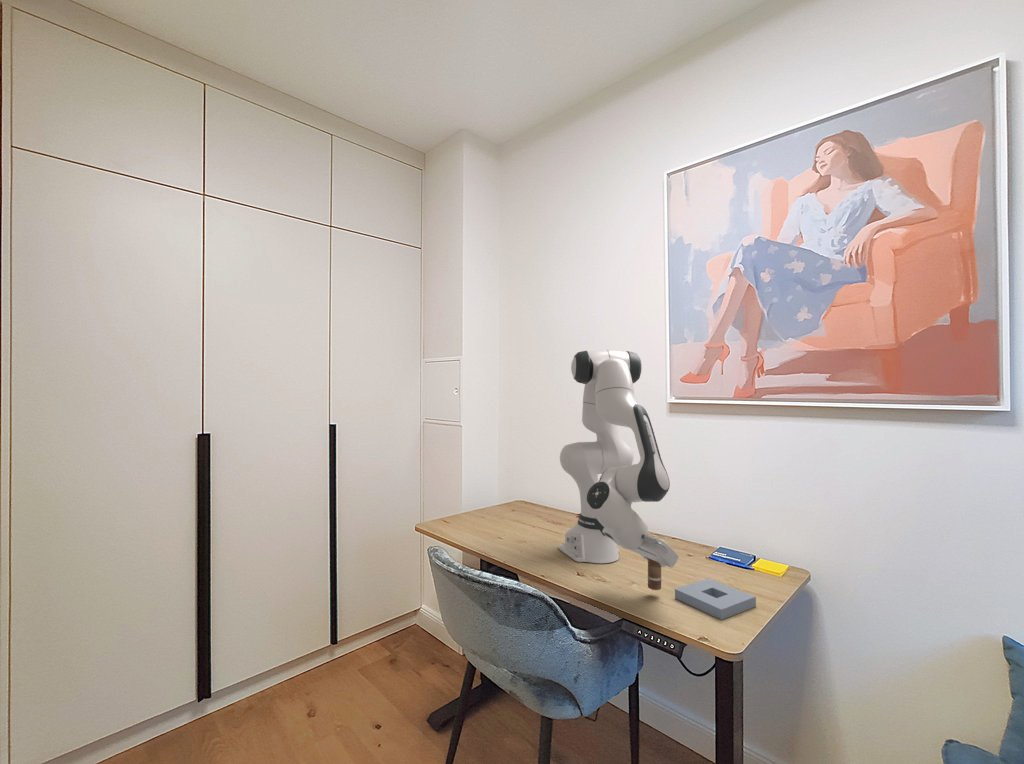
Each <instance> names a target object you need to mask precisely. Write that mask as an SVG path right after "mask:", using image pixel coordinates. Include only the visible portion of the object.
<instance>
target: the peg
mask: <svg viewBox="0 0 1024 764" xmlns="http://www.w3.org/2000/svg"><path fill="white" fill-rule="evenodd" d="M647 588H649V589H651V590H653V591H659V590H661V589H662V567H661V566H659V565H658V564H657V563H656V561H654V560H652V559H649V558H648V560H647Z"/></svg>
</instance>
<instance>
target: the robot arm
mask: <svg viewBox="0 0 1024 764" xmlns="http://www.w3.org/2000/svg"><path fill="white" fill-rule="evenodd" d="M642 366H643V365H642V360H641V357H640V356H639V355H638V353H636V352H633V351H628V350H627V351H621V350H614V349H613V350H612V349H607V350H606V349H605V350H592V351H591V350H590V351H588V350H583V351H578V352H576V354H574V356H573V358H572V361H571V365H570V370H571V374H572V378H573V379H574V381H575V382H576V383H579V384H583V385H584V386H583V387H584V388H583V395H582V396H583V397H582V412H581V413H582V417H581V421H582V422H581V423H582V424H583V426H584V427H585V428H586V429H587V430H589V431H590V432H592V433H594V434H595V435H596V441H579V442H571V443H569V444H566V445H564V446H563V447H562V449H561V451H560V453H559V462H560V465H561V468H562V470H563V471H564V472H565V473H567V474H568V475H569V476H571V478H572V479H573V480H574V482H575V484H576V485H577V487H578V490H579V491H578V492H579V498H580V513H577V514H575V515H576V516H575V518H578V519H577V523H576V524H575V525H574V526H572V527H571V528H569V529H568V530H567V531H566V533H565V536H564V537H565V539H564V542H562V543H560V544H559V545H558V548H557V549H558V550H560V551H561V552H563V553H564V554H565V555H566V556H568V557H569V558H570V559H572V560H573V561H575V562H577V563H584V562H585V563H590V564H591V563H592V564H609V563H613V562H616V561H618V560H619V559H620V555H619V554H620V549H619V547H621V548H623V549H625V550H629V551H630V552H633V553H635V554H638V555H640V557H642V558H643V559H644V560H646V561H648V558H649V559H652V560H654V561H656V563H657V564H658V565H659V566H661V568H665V566H666V567H668V568H671V569H672V568H675V565H676V564H677V562H678V560H679V558H680V557H679V554H678V553H677V552H676V551H675V550H674V548H672V547H671V545H669V544H668V543H667V542H666V541H664V539H661V538H659V537H656V536H654V535H650V534H648V533H649V528H648V525H647V524H646V523H645V521H644V520H643V519H642V518H641V517H640V515H639V514H638V513H637V511H635V509H633V508H632V504H633V503H639V502H640V503H641V502H645V503H646V502H647V503H648V502H649V503H650V502H653V503H655V502H656V503H658V502H661V501H662V500H663V498H665V497H666V495H667V494H668V492H669V490H670V488H671V487H670V485H671V482H670V478H669V475H668V472H667V470H666V468H665V465H664V463H663V459H662V458H661V453H660V449H659V446H658V443H657V440H656V436H655V431H654V428H653V425H652V423H651V422H652V421H651V419H650V416H649V414H648V412H647V410H646V408H645V407H644V406H642V405H641V404H638V403H637V400H636V397H635V391H634V390H635V389H634V384H635V383H636V382H638V380H640V378H641V376H642V375H641V374H642V370H643V367H642ZM617 426H619V427H624V428H630V429H631V430H632V432H633V434H634V435H633V436H634V439H635V443H636V446H637V450H638V454H639V457H640V458H639V459H640V460H639V462H638V463H634V464H633V462H634V453H633V450H632V448H631V446H629V444H628V443H626V442H625V440H623V438H622V437H621V436H620V434H619V432H618V429H617ZM599 474H601V476H600V478H599V477H598V475H599ZM618 546H619V547H618Z"/></svg>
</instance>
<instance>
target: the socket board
mask: <svg viewBox="0 0 1024 764" xmlns="http://www.w3.org/2000/svg"><path fill="white" fill-rule="evenodd" d="M674 599H675V600H677V601H680V602H682V603H684V604H686V605H688V606H690V607H693V608H694V609H697V610H699V611H701V612H704V613H705V614H707V615H710V616H712V617H714V618H717V620H718V619H719V620H721V621H723V620H725V619H728V618H730V617H733V616H736V615H737V614H740V613H743V612H746V611H749V610H751V609H753V608H755V607H757V597H756V596H754V595H752V594H749V593H747V592H745V591H742V590H740V589H737V588H735V587H732V586H730V585H727V584H724V583H723V582H722V583H721V582H720V581H716V580H714V579H712V578H705V579H702V580H699V581H696V582H693V583H689V584H687V585H683V586H679V587H677V588H674Z"/></svg>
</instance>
